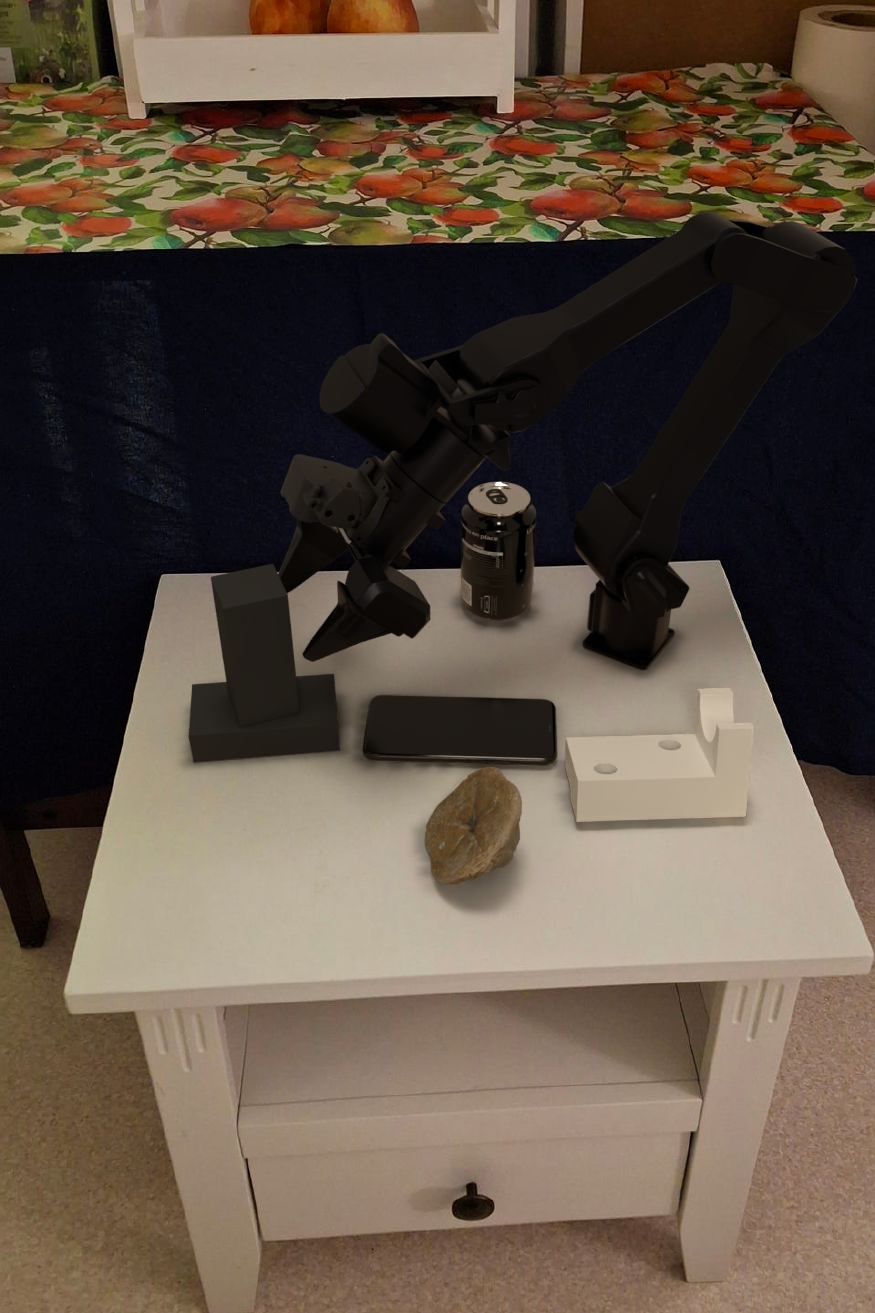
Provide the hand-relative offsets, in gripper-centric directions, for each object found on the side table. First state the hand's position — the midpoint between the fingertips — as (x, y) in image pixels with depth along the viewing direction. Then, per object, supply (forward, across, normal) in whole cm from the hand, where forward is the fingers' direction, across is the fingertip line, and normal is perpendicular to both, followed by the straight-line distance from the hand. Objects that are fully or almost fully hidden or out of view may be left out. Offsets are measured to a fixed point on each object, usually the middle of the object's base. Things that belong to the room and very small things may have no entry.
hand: (291, 624), depth 97 cm
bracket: (-9, +17, +24) cm, 31 cm away
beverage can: (-8, -9, +23) cm, 26 cm away
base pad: (+10, 0, +5) cm, 11 cm away
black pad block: (+7, 0, +3) cm, 8 cm away
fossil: (+2, +19, +13) cm, 23 cm away
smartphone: (-1, +6, +16) cm, 17 cm away
